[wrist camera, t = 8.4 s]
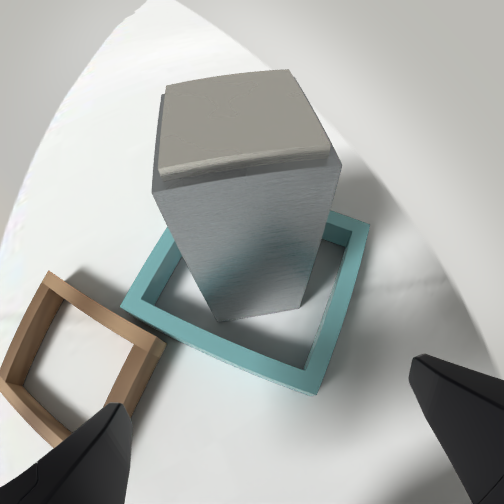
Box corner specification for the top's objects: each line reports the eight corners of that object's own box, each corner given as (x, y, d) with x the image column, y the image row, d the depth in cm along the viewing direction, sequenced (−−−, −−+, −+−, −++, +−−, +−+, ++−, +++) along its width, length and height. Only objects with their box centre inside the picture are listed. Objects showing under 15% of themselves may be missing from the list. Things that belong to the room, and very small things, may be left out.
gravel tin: (298, 308, 18) (345, 151, 7) (217, 322, 18) (145, 179, 7) (282, 238, 20) (294, 65, 9) (209, 250, 20) (158, 84, 9)
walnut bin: (167, 343, 17) (156, 336, 15) (105, 473, 13) (89, 477, 11) (62, 281, 19) (48, 270, 18) (11, 388, 15) (-6, 384, 13)
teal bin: (362, 240, 20) (370, 224, 18) (310, 396, 15) (316, 395, 14) (208, 189, 23) (204, 171, 21) (132, 316, 18) (119, 306, 16)
